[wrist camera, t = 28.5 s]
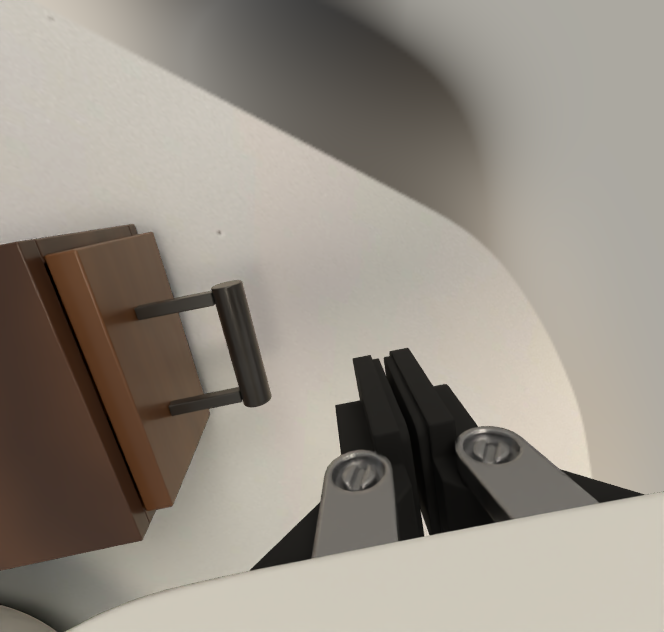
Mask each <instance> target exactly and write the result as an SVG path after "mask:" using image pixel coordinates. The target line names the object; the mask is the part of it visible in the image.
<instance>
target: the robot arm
mask: <svg viewBox="0 0 664 632" xmlns="http://www.w3.org/2000/svg"><path fill="white" fill-rule="evenodd" d="M353 364H354V370H355V375H356V381H357V386H358V391H359V397H360V401H355V402H350V403H344V404H339V405H335V407H336V416H337V424H338V432H339V440H340V449H341V455H340V456H339V457H337V458H336V459H335V460H333V461H332V462H331V464H330V465H329V466H328V467H327V470H326V472H325V476H324V482H323V489H322V495H321V501H320V503H319V504H318V505H317V506H316V507H315V508H314V509H313V510H312V511H311V512H310V513H308V514H307V515H306V516H305V517H304V518H303V519H302V520H301V521H300V522H299V523H298V524H297V525H296V526H295V527H294V528H293V529H292V530H291V531H290V532H289V533H288V534H287V535H286V536H285V537H284V538H283V539H282V540H281V541H280V542H279V543H278V544H277V545H276V546H274V547H273V548H272V549H271V550H270V551H269V552H268V553H267V554H266V555H265V556H264V557H263V558H262V559H261V560H260V561H259V562H258V563H257V564H256V565H255V566H254V567H253V568H252V569H251V570H250V571H247V572H242V573H237V574H231V575H227V576H223V577H218V578H214V579H210V580H205V581H201V582H197V583H192V584H188V585H184V586H180V587H175V588H171V589H167V590H163V591H160V592H157V593H154V594H150V595H147V596H144V597H141V598H138V599H134V600H132V601H129V602H127V603H124V604H122V605H119V606H117V607H115V608H112V609H110V610H107V611H105V612H102V613H100V614H98V615H96V616H94V617H92V618H90V619H88V620H86V621H84V622H82V623H81V624H79V625H77V626H75V627H73V628H71V629H69V630H67V631H65V632H664V491H663V492H659V493H653V494H647V495H644V494H641V493H638V492H634V491H631V490H628V489H624V488H621V487H618V486H614V485H611V484H607V483H604V482H601V481H597V480H594V479H591V478H587V477H584V476H581V475H577V474H574V473H571V472H567V471H564V470H561V469H559V468H558V467H556V466H555V465H554V464H553V463H552V462H550V461H549V460H548V459H547V458H546V457H545V456H543V455H542V454H541V453H540V452H539V451H537V450H536V449H535V448H534V447H533V446H531V445H530V444H529V443H528V442H527V441H526V440H524V439H523V438H522V437H521V436H519V435H517V434H516V433H514V432H513V431H510V430H507V429H504V428H500V427H494V426H481V427H478V426H477V424H476V423H475V422H474V420H473V419H472V418H471V416H470V415H469V413H468V412H467V411H466V409H465V408H464V407H463V405H462V404H461V402H460V401H459V400H458V398H457V397H456V396H455V394H454V393H453V392H452V390H451V389H450V387H449V386H448V385H447V384H443V385H438V386H433V385H432V384H431V382H430V381H429V379H428V378H427V376H426V374H425V373H424V371H423V370H422V368H421V367H420V365H419V364H418V362H417V361H416V359H415V357H414V356H413V354H412V353H411V351H410V350H409V348H404V349H399V350H394V351H390V356H388V357H384V365H385V371H386V375H385V372H384V370H383V368H382V365H381V363H380V361H379V359H373V360H372V358H371V355H368V356H363V357H358V358H353ZM420 509H421V510H420ZM421 512H422V515H423V518H424V521H425V524H426V526H427V529H428V532H429V535H430V536H425V537H424V531H423V524H422V517H421Z"/></svg>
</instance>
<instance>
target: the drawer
mask: <svg viewBox="0 0 664 632" xmlns="http://www.w3.org/2000/svg"><path fill="white" fill-rule="evenodd" d="M45 260H46V263H47V265H48V268H46V270H47V273H48V275H49V278H50V280H51V283H52V285H53V288H54V290H55V292H56V295H57V297H61V300H62V302H63V305H64V307H65V310H66V312H67V315H68V317H69V320H70V322H71V325H72V327H73V329H74V332H75V334H76V337H77V339H78V342H79V344H80V347H81V349H82V352H83V354H84V357H85V359H86V362H87V364H88V367H89V369H90V372H91V374H92V377H93V379H94V382H95V384H96V386H97V389H98V391H99V394H100V396H101V399H102V401H103V404H104V406H105V409H106V411H107V414H108V417H107V421H108V423H109V426H110V428H111V430H112V433H113V435H114V438H115V440H116V443H117V445H118V448H119V450H120V453H121V455H122V458H123V460H124V462H125V465H126V467H127V470H128V472H129V470H130V471H131V473H132V476H133V478H134V481H135V483H136V486H137V488H138V491H139V493H140V496H141V498H142V500H143V503H144V505H145V508H146V510H147V511H152V510H157V509H162V508H167V507H171V506H173V504H174V501H175V499H176V497H177V494H178V492H179V489H180V487H181V484H182V482H183V479H184V477H185V474H186V472H187V470H188V467H189V465H190V462H191V460H192V457H193V455H194V452H195V450H196V448H197V445H198V443H199V440H200V438H201V435H202V433H203V430H204V428H205V426H206V423H207V421H208V418H209V416H210V412H209V409H210V408H215V407H219V406H224V405H229V404H234V403H239V402H242V399H243V403H244V405H245V406H247V407H257V406H261V405H263V404H265V403H267V402H268V401H269V400H270V399H271V392H270V388H269V384H268V380H267V376H266V372H265V369H264V365H263V361H262V357H261V353H260V349H259V345H258V341H257V338H256V334H255V330H254V326H253V322H252V318H251V314H250V310H249V307H248V303H247V299H246V295H245V291H244V287H243V283H242V281H240V280H234V281H228V282H224V283H220V284H217V285H215V286H213V287H212V288H211V290H212V291H208V292H202V293H197V294H192V295H187V296H182V297H177V298H173V295H172V291H171V288H170V285H169V282H168V279H167V275H166V272H165V269H164V266H163V263H162V260H161V256H160V253H159V250H158V247H157V244H156V241H155V237H154V234H153V232H148V233H143V234H138V235H133V236H128V237H124V238H119V239H115V240H110V241H106V242H101V243H97V244H92V245H88V246H83V247H79V248H74V249H70V250H65V251H61V252H56V253H52V254H47V255H45ZM215 304H216V308H217V311H218V315H219V318H220V322H221V325H222V329H223V332H224V336H225V339H226V343H227V347H228V350H229V354H230V357H231V361H232V364H233V368H234V371H235V375H236V378H237V382H238V385H239V387H236V388H232V389H227V390H222V391H217V392H212V393H207V394H204V393H203V390H202V387H201V383H200V380H199V377H198V374H197V371H196V368H195V364H194V361H193V358H192V355H191V352H190V349H189V345H188V342H187V339H186V336H185V333H184V329H183V326H182V323H181V320H180V317H179V314H178V313H179V312H184V311H189V310H194V309H199V308H204V307H209V306H214V305H215Z"/></svg>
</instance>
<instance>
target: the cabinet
mask: <svg viewBox="0 0 664 632" xmlns="http://www.w3.org/2000/svg"><path fill="white" fill-rule="evenodd" d="M133 235H138V234H137V231H136V228H135V225H134V224H129V225H123V226H116V227H110V228H103V229H97V230H90V231H84V232H77V233H71V234H64V235H58V236H51V237H45V238H38V239H31V240H25V241H18V242H13V243H8V244H2V245H0V571H1V570H6V569H11V568H15V567H20V566H25V565H29V564H34V563H39V562H43V561H48V560H53V559H58V558H62V557H67V556H72V555H76V554H81V553H86V552H90V551H95V550H100V549H104V548H109V547H114V546H118V545H123V544H128V543H133V542H137V541H142V540H143V538H144V536H145V533H146V531H147V529H148V527H149V524H150V522H151V520H152V518H153V516H154V514H155V511H156V510H152V511H147V510H146V508H145V505H144V503H143V500H142V498H141V496H140V493H139V491H138V488H137V486H136V483H135V481H134V478H133V476H132V473H131V471H130V470H129V472H128V470H127V467H126V465H125V462H124V460H123V458H122V455H121V453H120V450H119V448H118V445H117V443H116V440H115V438H114V435H113V433H112V430H111V428H110V426H109V423H108V421H107V418H106V416H105V413H104V411H103V408H102V406H101V403H100V401H99V398H98V396H97V393H96V391H95V389H94V386H93V384H92V381H91V379H90V376H89V374H88V371H87V369H86V366H85V364H84V361H83V359H82V357H81V354H80V352H79V349H78V347H77V344H76V342H75V339H74V337H73V334H72V332H71V329H70V327H69V325H68V322H67V320H66V317H65V315H64V312H63V310H62V307H61V305H60V302H59V300H58V297H57V295H56V292H55V290H54V288H53V285H52V283H51V280H50V278H49V275H48V273H47V270H46V268H48V265H47V263H46V260H45V255H47V254H52V253H56V252H61V251H65V250H70V249H74V248H79V247H83V246H88V245H92V244H97V243H101V242H106V241H110V240H115V239H119V238H124V237H128V236H133Z"/></svg>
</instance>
